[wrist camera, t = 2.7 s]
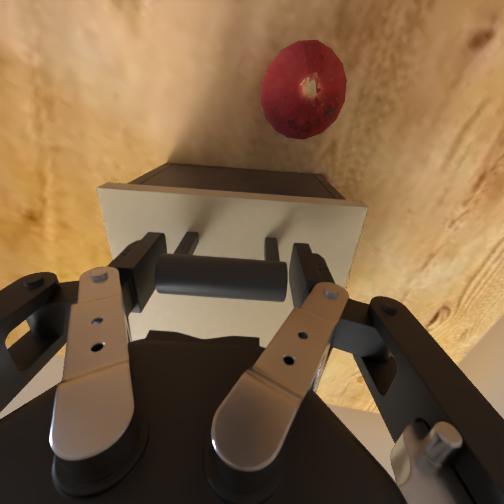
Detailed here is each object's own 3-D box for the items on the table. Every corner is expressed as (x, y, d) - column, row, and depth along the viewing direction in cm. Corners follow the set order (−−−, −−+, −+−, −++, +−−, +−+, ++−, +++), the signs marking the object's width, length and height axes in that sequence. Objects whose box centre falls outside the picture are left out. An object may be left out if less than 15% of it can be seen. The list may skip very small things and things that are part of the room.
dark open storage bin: (166, 162, 24) (110, 192, 15) (321, 174, 24) (358, 210, 15) (179, 309, 33) (148, 385, 24) (293, 317, 33) (306, 396, 24)
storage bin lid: (107, 181, 15) (22, 220, 9) (361, 200, 15) (417, 249, 10) (148, 386, 24) (116, 465, 18) (306, 396, 24) (320, 478, 18)
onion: (345, 98, 21) (388, 90, 14) (291, 149, 23) (305, 165, 16) (300, 33, 19) (324, -12, 12) (246, 96, 21) (240, 87, 14)
